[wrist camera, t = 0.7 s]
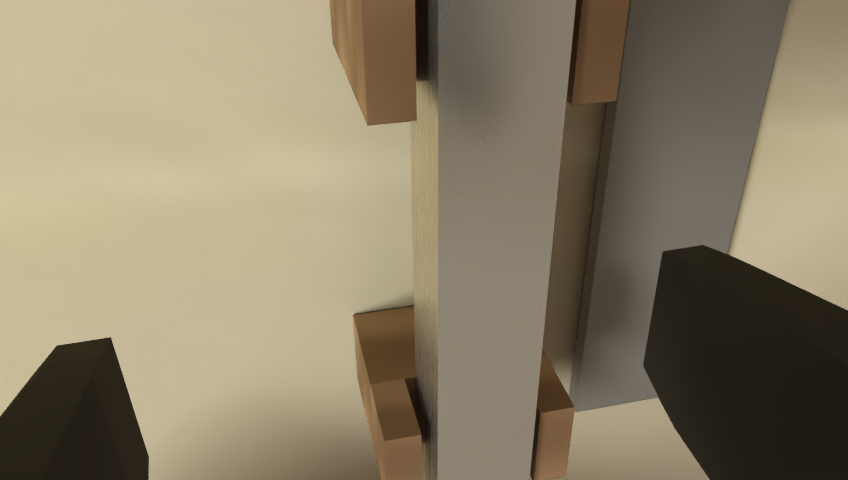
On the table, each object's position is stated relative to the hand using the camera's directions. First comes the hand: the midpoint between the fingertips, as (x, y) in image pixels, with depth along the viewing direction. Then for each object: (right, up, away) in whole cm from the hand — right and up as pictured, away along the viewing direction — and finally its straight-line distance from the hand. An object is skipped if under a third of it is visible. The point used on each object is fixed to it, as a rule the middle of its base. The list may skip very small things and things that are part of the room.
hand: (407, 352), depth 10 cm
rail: (+1, +1, +8) cm, 8 cm away
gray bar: (+7, +4, +11) cm, 14 cm away
